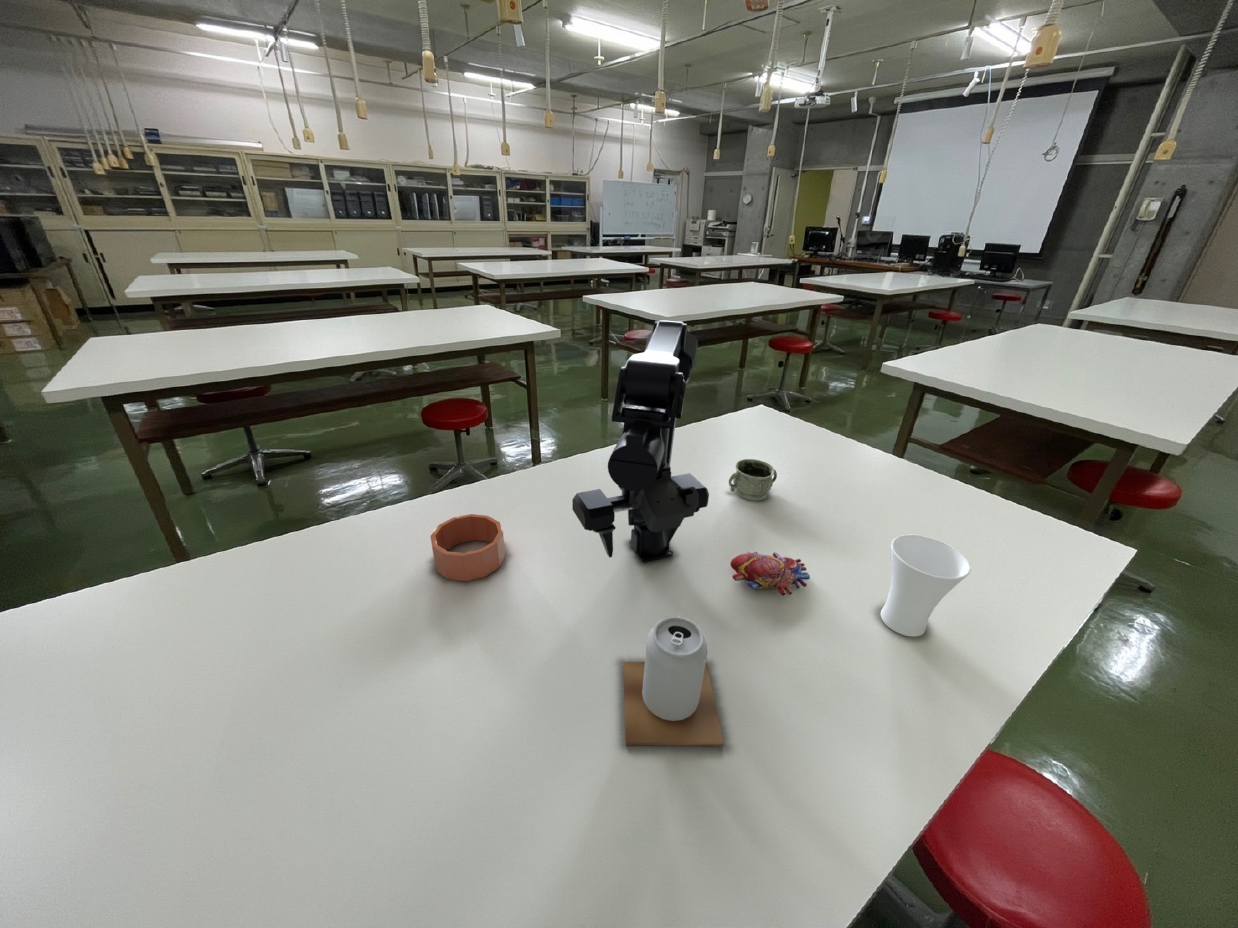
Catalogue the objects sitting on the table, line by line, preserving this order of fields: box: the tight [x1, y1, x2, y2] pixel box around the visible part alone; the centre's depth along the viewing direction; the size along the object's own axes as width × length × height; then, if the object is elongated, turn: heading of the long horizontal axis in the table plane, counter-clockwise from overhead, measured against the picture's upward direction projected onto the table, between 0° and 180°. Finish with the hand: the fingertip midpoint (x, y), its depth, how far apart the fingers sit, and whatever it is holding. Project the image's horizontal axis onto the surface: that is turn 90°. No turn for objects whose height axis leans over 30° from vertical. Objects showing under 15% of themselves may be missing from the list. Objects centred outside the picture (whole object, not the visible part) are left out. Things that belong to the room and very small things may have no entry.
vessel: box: [728, 458, 778, 501], centre depth 113 cm, size 12×9×6 cm
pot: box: [430, 513, 506, 582], centre depth 89 cm, size 12×12×6 cm
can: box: [642, 615, 709, 721], centre depth 63 cm, size 8×8×12 cm
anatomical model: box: [730, 551, 811, 596], centre depth 87 cm, size 11×4×15 cm
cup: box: [880, 533, 972, 638], centre depth 77 cm, size 10×10×14 cm
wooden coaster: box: [622, 661, 724, 747], centre depth 66 cm, size 12×12×1 cm
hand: (638, 549), depth 73 cm, fingers open, 9 cm apart
